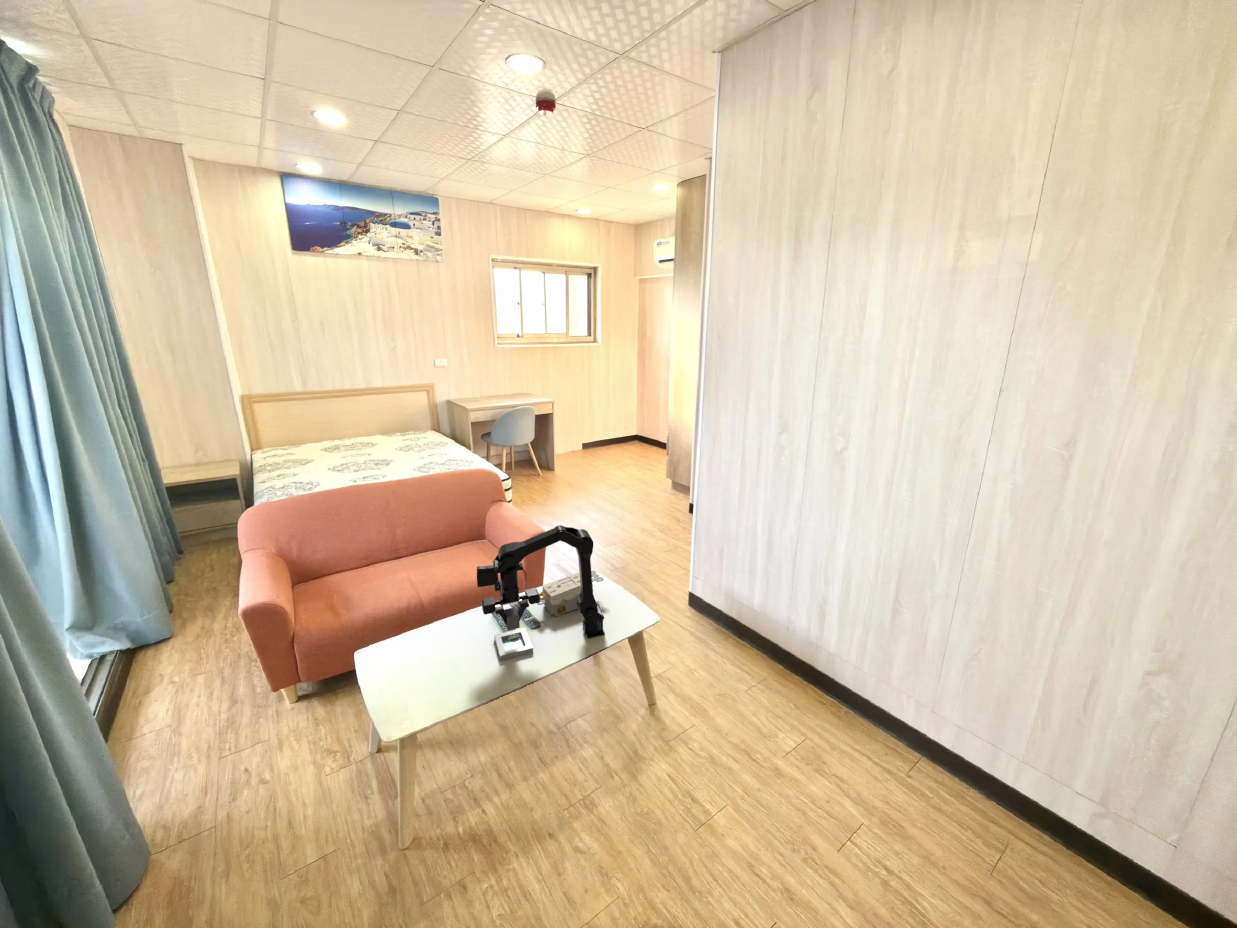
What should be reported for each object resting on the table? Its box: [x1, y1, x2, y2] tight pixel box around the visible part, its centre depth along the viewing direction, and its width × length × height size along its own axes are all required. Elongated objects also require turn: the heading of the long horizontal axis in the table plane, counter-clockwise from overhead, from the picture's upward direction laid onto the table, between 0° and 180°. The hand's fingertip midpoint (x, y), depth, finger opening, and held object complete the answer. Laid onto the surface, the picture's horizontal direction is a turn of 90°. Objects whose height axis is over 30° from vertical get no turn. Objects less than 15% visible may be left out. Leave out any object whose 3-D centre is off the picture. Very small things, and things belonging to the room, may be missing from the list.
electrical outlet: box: [536, 570, 604, 618], centre depth 190 cm, size 12×28×10 cm, turn 123°
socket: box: [493, 627, 534, 662], centre depth 166 cm, size 11×12×2 cm
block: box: [504, 606, 521, 631], centre depth 163 cm, size 4×5×5 cm
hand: (512, 622), depth 164 cm, fingers closed on block, 4 cm apart
